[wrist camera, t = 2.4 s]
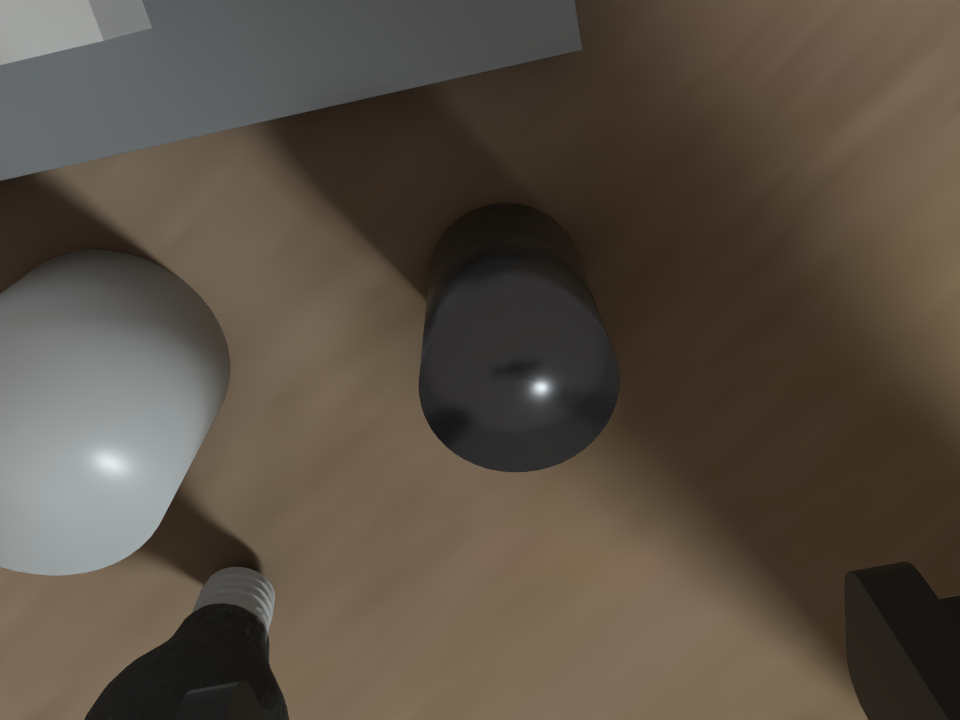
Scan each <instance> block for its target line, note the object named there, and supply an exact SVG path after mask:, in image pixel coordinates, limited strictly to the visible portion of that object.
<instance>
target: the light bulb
mask: <svg viewBox="0 0 960 720" xmlns="http://www.w3.org/2000/svg"><path fill="white" fill-rule="evenodd" d="M274 601H275V593H274V589H273V587H272V585H271V584H270V582H269V581H268V580H267V579H266V578H265V577H264V576H263V575H261V574H260V573H258V572H257V571H254V570H252V569H249V568H244V567H229V568H225V569H221V570H219V571H218V572H216V573H214V574H213V575H211V576H210V578H209V579H208V581H207V582H206V583H205V585H204V586H203V588H202V589H201V591H200V595H199V597H198V599H197V602H196V605H195V607H194V609H193V612H192V614H191V615H189V616H188V617H187V618H186V619H185V620H184V621H183V623H182V624H181V626H180V627H179V628H178V630H177V631H176V633H175V634H174V635H173V637H171V638H170V639H169V640H168V641H167V642H165V643H163V644H162V645H160V646H158V647H157V648H155V649H153V650H151V651H150V652H148V653H146V654H144V655H143V656H141V657H139V658H138V659H136V660H135V661H134V662H132V663H131V664H130V665H128V666H127V667H126V668H125V669H124V670H123V671H122V672H121V673H120V674H119V675H118V676H116V677H115V678H114V679H113V680H112V681H111V682H110V683H109V684H108V686H107V687H106V688H105V689H104V690H103V692H102V693H101V695H100V696H99V697H98V699H97V700H96V702H95V703H94V705H93V706H92V708H91V709H90V711H89V712H88V714H87V715H86V718H85V720H175V719H176V716H177V713H178V710H179V708H180V705H181V702H182V700H183V698H184V696H185V695H186V694H187V693H188V692H189V691H191V690H195V689H201V688H206V687H212V686H217V685H223V684H228V683H234V682H239V681H246V682H247V683H249V685H250V686H251V687H252V689H253V691H254V693H255V695H256V697H257V700H258V702H259V704H260V706H261V708H262V710H263V713H264V715H265V717H266V719H267V720H289V717H288V711H287V706H286V703H285V700H284V697H283V694H282V692H281V690H280V688H279V686H278V683H277V681H276V679H275V677H274V675H273V673H272V671H271V669H270V665H269V638H268V630H269V626H270V624H271V619H272V616H273V611H274V608H273V606H274Z"/></svg>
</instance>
